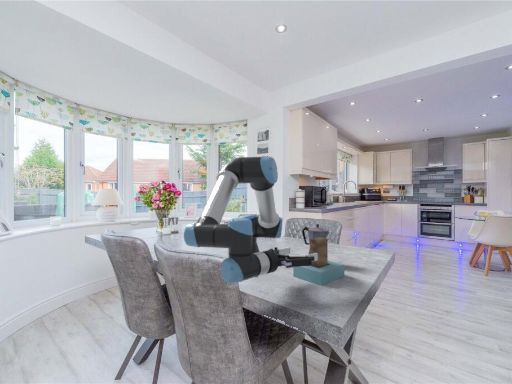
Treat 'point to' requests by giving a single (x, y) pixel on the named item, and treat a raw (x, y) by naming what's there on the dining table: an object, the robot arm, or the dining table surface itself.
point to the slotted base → (320, 273)
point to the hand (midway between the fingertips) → (302, 253)
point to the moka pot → (315, 233)
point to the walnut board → (319, 251)
